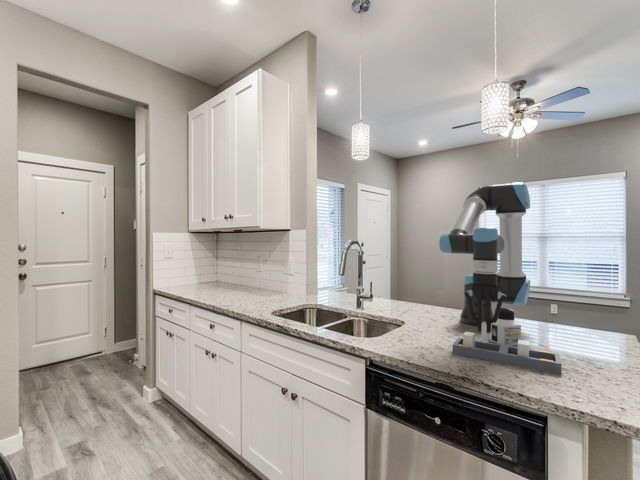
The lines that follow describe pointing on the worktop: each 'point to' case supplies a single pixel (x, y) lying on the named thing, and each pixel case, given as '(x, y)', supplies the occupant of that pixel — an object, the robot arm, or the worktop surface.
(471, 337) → the tab
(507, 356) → the tray
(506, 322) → the container
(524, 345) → the tab
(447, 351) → the worktop surface
